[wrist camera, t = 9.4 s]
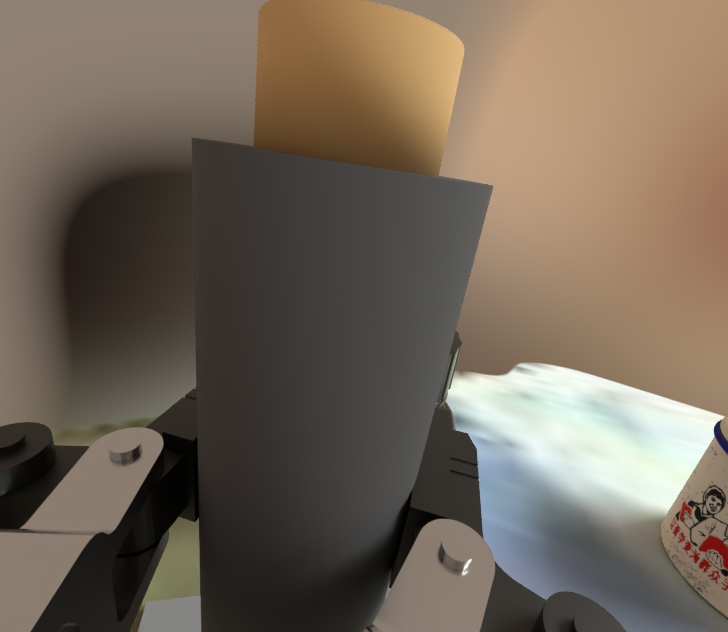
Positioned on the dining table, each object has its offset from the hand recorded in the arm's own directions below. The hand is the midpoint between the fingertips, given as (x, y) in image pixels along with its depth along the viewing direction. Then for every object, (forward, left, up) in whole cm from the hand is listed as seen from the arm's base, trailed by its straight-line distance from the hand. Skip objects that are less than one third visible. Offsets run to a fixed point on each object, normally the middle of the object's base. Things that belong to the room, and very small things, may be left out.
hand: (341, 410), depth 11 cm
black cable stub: (+1, +3, -9) cm, 10 cm away
